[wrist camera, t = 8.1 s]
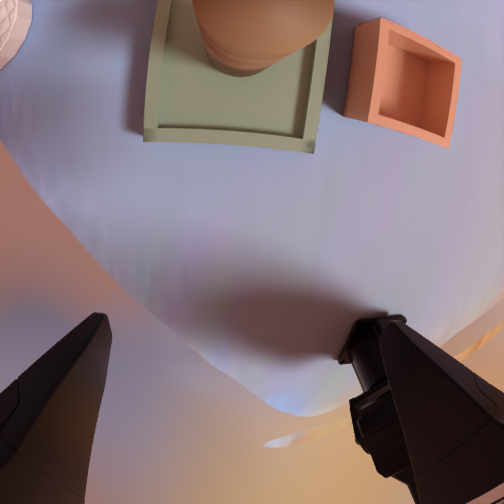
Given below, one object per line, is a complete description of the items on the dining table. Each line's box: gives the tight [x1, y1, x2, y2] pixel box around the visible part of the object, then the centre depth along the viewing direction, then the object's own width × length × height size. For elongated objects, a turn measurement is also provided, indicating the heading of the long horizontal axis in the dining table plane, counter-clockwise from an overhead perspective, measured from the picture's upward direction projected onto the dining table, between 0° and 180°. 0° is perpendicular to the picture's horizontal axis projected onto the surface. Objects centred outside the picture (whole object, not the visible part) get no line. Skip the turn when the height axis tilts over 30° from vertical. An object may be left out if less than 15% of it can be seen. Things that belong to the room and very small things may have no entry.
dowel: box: [192, 0, 334, 77], centre depth 9 cm, size 4×4×9 cm
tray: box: [143, 0, 335, 154], centre depth 13 cm, size 12×10×2 cm
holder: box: [343, 17, 461, 148], centre depth 14 cm, size 7×7×4 cm
